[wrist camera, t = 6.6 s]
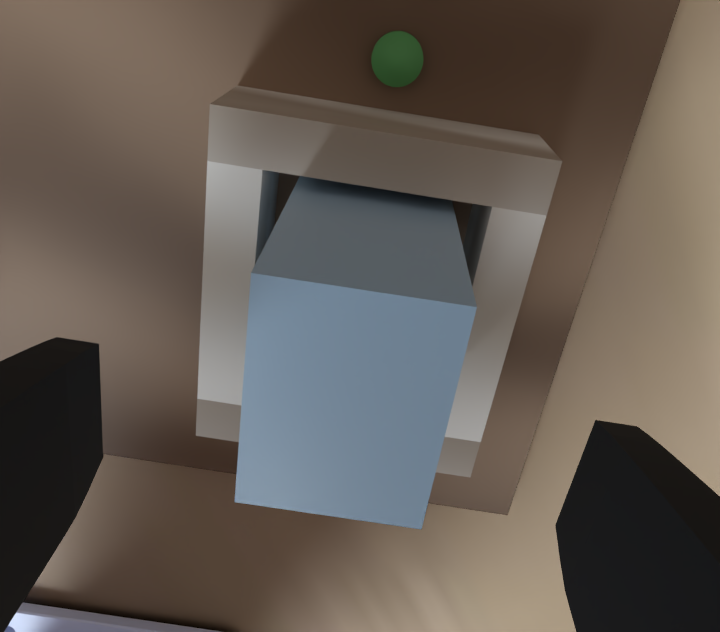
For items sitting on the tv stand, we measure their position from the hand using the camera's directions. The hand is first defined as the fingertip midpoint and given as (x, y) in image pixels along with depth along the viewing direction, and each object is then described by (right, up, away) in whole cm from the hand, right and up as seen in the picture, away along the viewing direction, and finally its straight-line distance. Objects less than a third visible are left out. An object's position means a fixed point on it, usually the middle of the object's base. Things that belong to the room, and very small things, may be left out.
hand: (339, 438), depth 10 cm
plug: (0, +3, +5) cm, 6 cm away
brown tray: (-6, +4, +6) cm, 9 cm away
